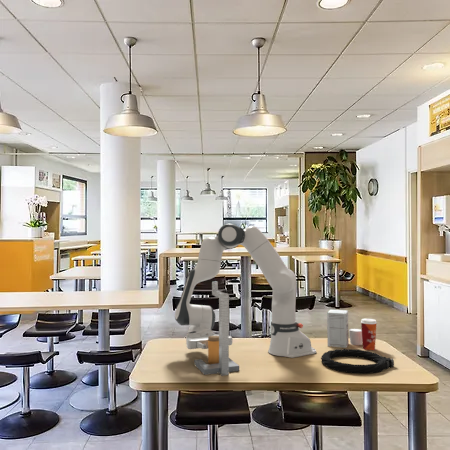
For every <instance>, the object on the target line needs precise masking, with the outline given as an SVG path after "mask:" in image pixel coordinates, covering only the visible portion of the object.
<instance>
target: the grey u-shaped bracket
mask: <svg viewBox="0 0 450 450" xmlns="http://www.w3.org/2000/svg"><path fill="white" fill-rule="evenodd" d="M194 366H195V367H196V368H198V370H199V371H200V372H201V373H202V374H203V375H213V374H219V363H217V364H208V363H206V362H205V361H204V360H203V359H202V358H201V359H194ZM239 371H240V365H239V364H238V363H236V362H235V361H234V360H232V359H231V358H230V357H229V373H230V372H239Z"/></svg>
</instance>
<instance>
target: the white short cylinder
mask: <svg viewBox="0 0 450 450" xmlns="http://www.w3.org/2000/svg"><path fill="white" fill-rule="evenodd" d="M348 334H349V343H350V345H353V346H363V344H362V328H361V329H360V328H350V329H349V328H348Z"/></svg>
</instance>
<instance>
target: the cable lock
mask: <svg viewBox="0 0 450 450" xmlns="http://www.w3.org/2000/svg"><path fill="white" fill-rule="evenodd" d="M345 357H346V358H358V359H366V360H369V361H372V362H375V363H370V364H369V363H367V364H352V363H347V362H340V361H337V360H333V359H335V358H345ZM320 360H321V363H322V364H323V366H326V367H327V368H329V369H332V370H335V371H337V372H342V373H348V374H359V375H361V374H362V375H363V374H376V373H379V372H383V371H385V370H387V369H390V368H394V366H395V361H394V358H391V357H386V356H382V355H381V354H378V353H376V352H372V351H371V350H364V349H352V348H350V349H349V348H339V349H338V348H337V349H332V350H328V351H326V352H324V353H323V354H322V355H321V357H320ZM389 367H390V368H389Z"/></svg>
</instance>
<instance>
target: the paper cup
mask: <svg viewBox="0 0 450 450" xmlns="http://www.w3.org/2000/svg"><path fill="white" fill-rule="evenodd" d="M360 323H361V324H360V326H361V329H362V350H364V351H375V349H376V338H377V324H378V322H377V320H376V319H375V318H365V317H364V318H361V320H360Z"/></svg>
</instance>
